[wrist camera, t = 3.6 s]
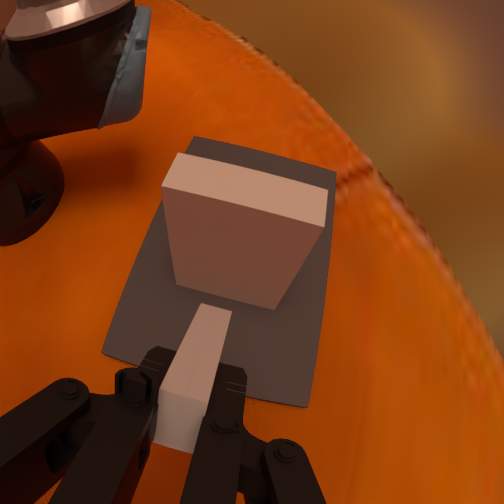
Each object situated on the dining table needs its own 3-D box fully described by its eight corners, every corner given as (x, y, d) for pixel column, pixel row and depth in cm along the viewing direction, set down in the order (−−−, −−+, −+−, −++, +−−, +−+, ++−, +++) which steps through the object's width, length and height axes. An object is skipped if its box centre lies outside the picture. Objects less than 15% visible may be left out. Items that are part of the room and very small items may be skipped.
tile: (274, 310, 32) (324, 227, 19) (176, 284, 32) (161, 185, 19) (280, 280, 34) (328, 186, 21) (186, 256, 33) (179, 149, 20)
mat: (304, 407, 28) (307, 407, 28) (104, 354, 28) (101, 352, 27) (334, 176, 43) (336, 172, 42) (193, 141, 43) (194, 135, 42)
